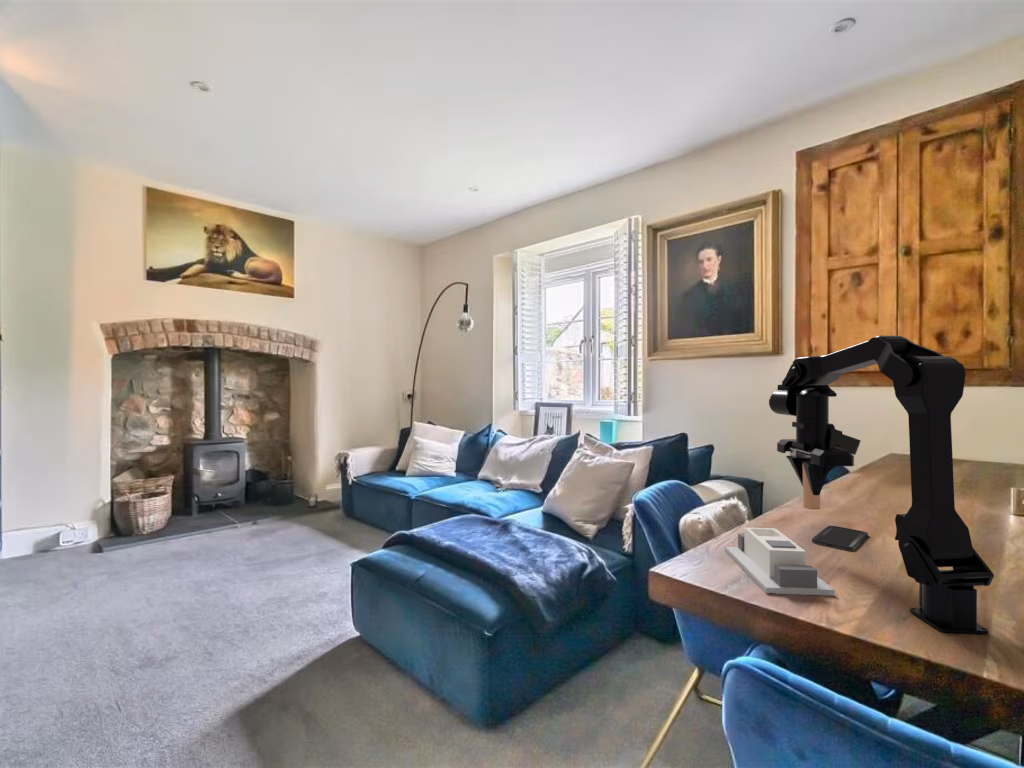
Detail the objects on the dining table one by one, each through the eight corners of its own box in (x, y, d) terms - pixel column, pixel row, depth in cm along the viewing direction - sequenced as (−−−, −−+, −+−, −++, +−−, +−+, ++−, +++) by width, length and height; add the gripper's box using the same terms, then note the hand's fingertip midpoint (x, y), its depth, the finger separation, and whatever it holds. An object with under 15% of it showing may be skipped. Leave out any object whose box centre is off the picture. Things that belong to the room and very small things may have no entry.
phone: (868, 532, 111) (852, 548, 101) (868, 537, 111) (852, 553, 101) (829, 524, 117) (809, 538, 107) (829, 529, 117) (809, 544, 107)
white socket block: (805, 579, 85) (805, 549, 85) (769, 578, 85) (769, 548, 85) (775, 553, 97) (775, 527, 97) (744, 551, 98) (744, 526, 98)
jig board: (834, 595, 81) (834, 571, 80) (766, 593, 82) (766, 569, 82) (779, 552, 100) (779, 533, 100) (724, 551, 101) (724, 532, 101)
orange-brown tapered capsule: (823, 509, 98) (822, 465, 98) (808, 509, 98) (807, 465, 98) (815, 505, 101) (814, 462, 101) (800, 505, 101) (799, 463, 101)
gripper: (884, 422, 90) (883, 505, 90) (827, 414, 108) (827, 483, 108) (821, 422, 91) (820, 504, 91) (776, 414, 109) (775, 483, 109)
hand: (811, 493), depth 100 cm, fingers closed on orange-brown tapered capsule, 3 cm apart
